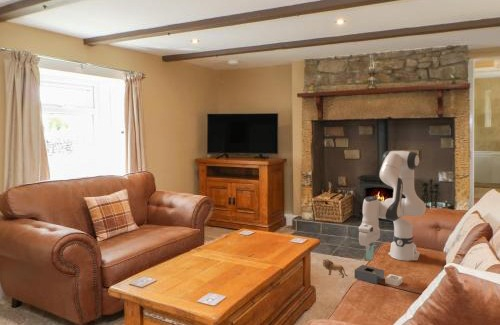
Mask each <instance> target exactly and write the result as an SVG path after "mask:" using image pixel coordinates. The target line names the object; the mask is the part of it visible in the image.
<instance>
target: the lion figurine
mask: <svg viewBox="0 0 500 325" xmlns="http://www.w3.org/2000/svg"><path fill="white" fill-rule="evenodd" d="M322 266H323V267H324V268H325V269H326V270H328V275H329V276H332V271H338V272H339V274H338V275H339V276H341V278H342V279H343V278H345V277H348V275H347V274H346V272H345V268H344V266H343V265H341V264H335V263H334V262H333V261H331V260H329V259H327V258H324V259H322Z"/></svg>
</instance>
